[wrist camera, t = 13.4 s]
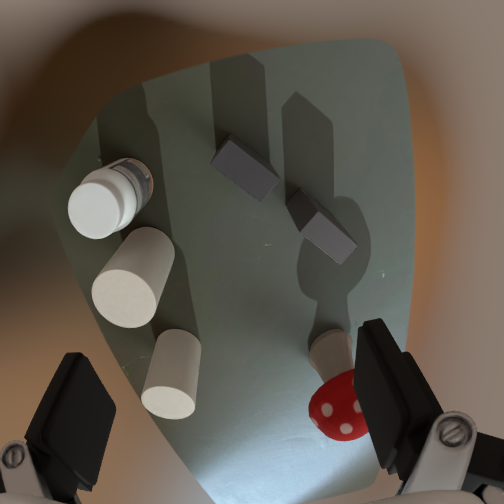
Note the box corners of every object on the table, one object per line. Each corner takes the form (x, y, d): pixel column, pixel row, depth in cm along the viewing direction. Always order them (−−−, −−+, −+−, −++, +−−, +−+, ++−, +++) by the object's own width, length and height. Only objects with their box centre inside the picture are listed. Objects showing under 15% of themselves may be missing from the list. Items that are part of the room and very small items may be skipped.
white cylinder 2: (148, 348, 41) (132, 403, 32) (170, 320, 39) (156, 378, 30) (186, 368, 43) (177, 425, 34) (210, 343, 41) (205, 402, 32)
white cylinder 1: (115, 256, 35) (82, 303, 26) (140, 216, 33) (108, 255, 24) (157, 284, 37) (136, 338, 28) (185, 247, 35) (168, 296, 26)
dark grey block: (215, 151, 31) (209, 164, 24) (230, 132, 30) (229, 139, 23) (255, 181, 32) (261, 202, 25) (270, 163, 32) (280, 179, 24)
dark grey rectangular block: (285, 204, 34) (298, 232, 26) (300, 187, 33) (318, 210, 26) (319, 232, 35) (340, 265, 28) (333, 216, 34) (358, 245, 27)
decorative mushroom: (326, 306, 39) (363, 397, 26) (373, 329, 41) (416, 411, 28) (282, 359, 43) (297, 451, 29) (329, 377, 45) (354, 460, 31)
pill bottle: (111, 213, 33) (72, 250, 24) (100, 162, 31) (54, 184, 22) (159, 204, 33) (132, 241, 24) (149, 151, 31) (116, 169, 22)
